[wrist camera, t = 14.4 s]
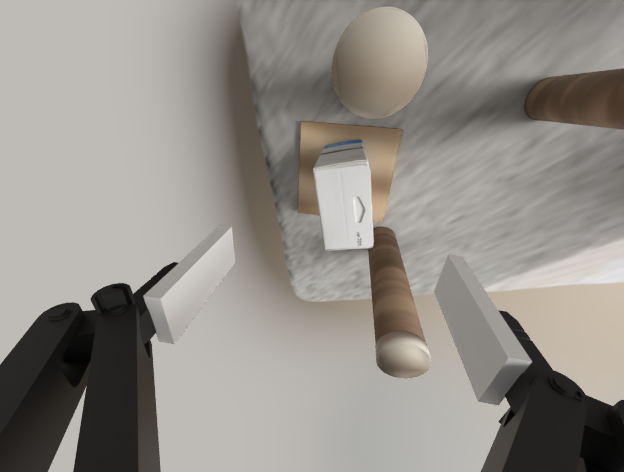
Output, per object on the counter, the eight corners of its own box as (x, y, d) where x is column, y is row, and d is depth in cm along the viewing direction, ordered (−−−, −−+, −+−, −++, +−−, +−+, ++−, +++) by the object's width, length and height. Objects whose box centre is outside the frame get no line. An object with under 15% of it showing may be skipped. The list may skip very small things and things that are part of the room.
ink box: (324, 143, 31) (308, 165, 21) (365, 138, 30) (370, 158, 20) (331, 208, 35) (321, 252, 25) (368, 205, 34) (374, 250, 24)
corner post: (369, 224, 36) (381, 339, 19) (398, 228, 36) (438, 349, 19) (365, 248, 38) (372, 372, 21) (392, 252, 38) (423, 382, 20)
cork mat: (302, 120, 31) (301, 121, 30) (401, 128, 30) (402, 129, 29) (299, 210, 37) (297, 212, 36) (381, 220, 36) (382, 222, 35)
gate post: (348, 64, 28) (336, 5, 10) (386, 66, 27) (441, 8, 10) (344, 106, 30) (327, 115, 12) (379, 108, 29) (413, 122, 12)
